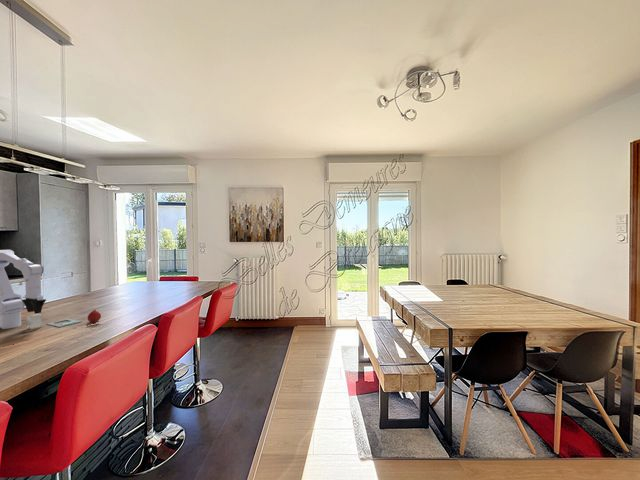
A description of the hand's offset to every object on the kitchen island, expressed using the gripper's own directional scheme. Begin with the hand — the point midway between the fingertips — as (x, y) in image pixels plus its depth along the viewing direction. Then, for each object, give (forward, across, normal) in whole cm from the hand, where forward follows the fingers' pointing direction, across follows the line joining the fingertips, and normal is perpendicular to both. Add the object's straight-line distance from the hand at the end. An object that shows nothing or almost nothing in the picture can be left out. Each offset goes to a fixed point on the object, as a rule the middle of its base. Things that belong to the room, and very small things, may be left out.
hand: (34, 312), depth 144 cm
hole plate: (+9, +5, +10) cm, 15 cm away
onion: (+10, +18, +18) cm, 28 cm away
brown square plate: (+9, 0, 0) cm, 9 cm away
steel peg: (+8, 0, 0) cm, 8 cm away
